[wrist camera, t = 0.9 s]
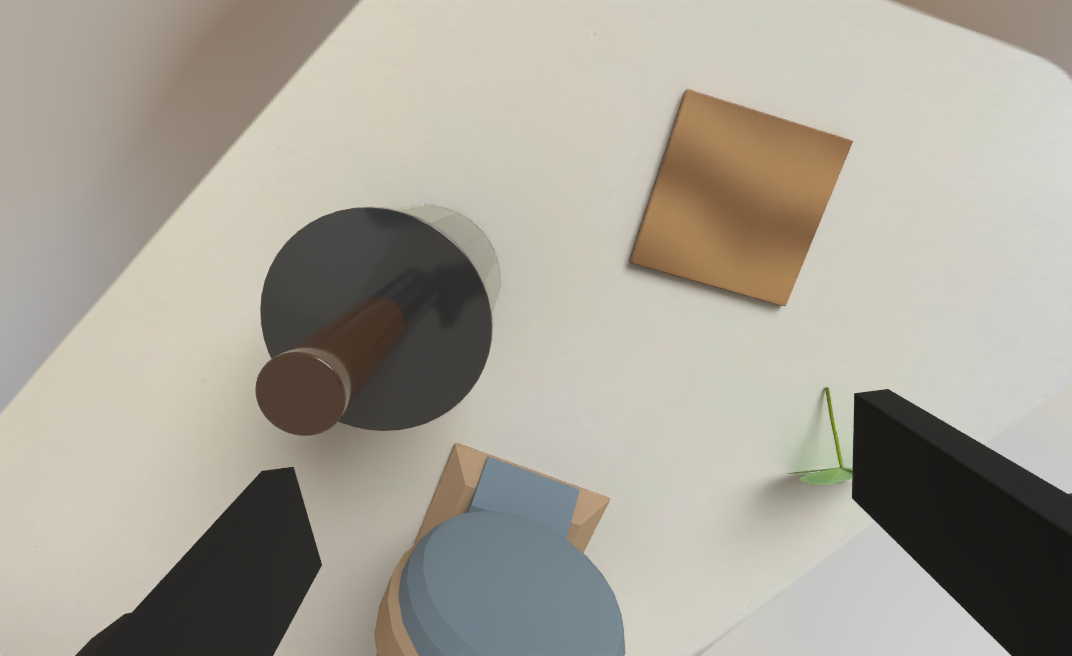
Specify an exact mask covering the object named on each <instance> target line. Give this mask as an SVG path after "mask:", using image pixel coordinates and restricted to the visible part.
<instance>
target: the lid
mask: <svg viewBox="0 0 1072 656" xmlns="http://www.w3.org/2000/svg"><path fill="white" fill-rule="evenodd" d="M260 311H261V326H262V331H263V336H264V340H265V343H266V346H267V349H268V352H269V355H270V357H271V360H270V361H269V362H267V363H266V364H265V366H264V367H263V368H262V370H261V371H260V373H259V375H258V378H257V382H256V398H257V402H258V405H259V407H260V409H261V411H262V412H263V414H264V415H265V417H266V418H267V419H268V420H269V421H270V422H271V423H272V424H273V425H275V426H276V427H278V428H279V429H281V430H283V431H285V432H288V433H291V434H295V435H303V436H307V435H315V434H319V433H322V432H324V431H327V430H328V429H330V428H331V427H333V426H334V425H335V424H336V423H337V422H341V423H343V424H347V425H350V426H353V427H357V428H362V429H368V430H380V431H389V430H401V429H407V428H412V427H416V426H419V425H422V424H425V423H428V422H430V421H432V420H434V419H436V418H439V417H440V416H442V415H443V414H445V413H447V412H448V411H450V410H451V409H452V408H453V407H455V406H456V405H457V404H458V403H460V402H461V401H462V400H463V399H464V397H465V396H466V395H467V394H468V393H469V392H470V391H471V389H472V388H473V386H474V385H475V384H476V382H477V381H478V379H479V377H480V375H481V373H482V371H483V369H484V367H485V364H486V361H487V358H488V356H489V352H490V347H491V342H492V335H493V315H492V307H491V302H490V297H489V293H488V291H487V288H486V285H485V282H484V280H483V278H482V276H481V274H480V272H479V270H478V268H477V266H476V265H475V263H474V262H473V261H472V259H471V258H470V256H469V255H468V254H467V252H466V251H465V250H464V249H463V248H462V247H461V246H460V245H459V243H458V242H456V241H455V240H454V239H453V238H452V237H451V236H450V235H448V234H447V233H446V232H445V231H443V230H442V229H440V228H439V227H437V226H436V225H434V224H433V223H431V222H429V221H427V220H425V219H423V218H421V217H419V216H416V215H413V214H410V213H407V212H404V211H400V210H396V209H391V208H382V207H358V208H351V209H346V210H341V211H337V212H334V213H331V214H328V215H325V216H323V217H321V218H319V219H317V220H315V221H313V222H311V223H309V224H308V225H306V226H305V227H303V228H302V229H301V230H299V231H298V232H297V233H296V234H295V235H294V236H292V237H291V238H290V239H289V240H288V241H287V242H286V244H285V245H284V246H283V247H282V249H281V250H280V251H279V253H278V254H277V256H276V257H275V259H274V261H273V263H272V264H271V266H270V269H269V271H268V274H267V276H266V279H265V282H264V287H263V291H262V297H261V309H260Z"/></svg>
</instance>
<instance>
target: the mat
mask: <svg viewBox="0 0 1072 656" xmlns="http://www.w3.org/2000/svg"><path fill="white" fill-rule="evenodd" d="M852 142H853V141H852V140H849V139H846V138H843V137H839V136H836V135H833V134H830V133H827V132H823V131H820V130H817V129H814V128H811V127H808V126H804V125H801V124H798V123H795V122H792V121H788V120H785V119H782V118H779V117H776V116H772V115H769V114H766V113H763V112H760V111H756V110H753V109H750V108H747V107H744V106H741V105H737V104H734V103H731V102H728V101H725V100H721V99H718V98H715V97H712V96H709V95H705V94H702V93H699V92H696V91H693V90H689V89H687V90H686V91H685V94H684V97H683V100H682V103H681V106H680V109H679V112H678V115H677V118H676V121H675V124H674V127H673V131H672V134H671V137H670V140H669V143H668V146H667V149H666V152H665V155H664V158H663V161H662V164H661V167H660V170H659V173H658V176H657V180H656V183H655V186H654V189H653V192H652V195H651V198H650V201H649V204H648V207H647V210H646V213H645V216H644V219H643V222H642V225H641V229H640V232H639V235H638V238H637V241H636V244H635V247H634V250H633V253H632V256H631V259H630V262H631V263H634V264H637V265H641V266H644V267H648V268H652V269H655V270H659V271H662V272H666V273H669V274H673V275H676V276H680V277H683V278H687V279H690V280H694V281H697V282H701V283H704V284H708V285H711V286H715V287H718V288H722V289H726V290H729V291H733V292H736V293H740V294H743V295H747V296H750V297H754V298H757V299H761V300H764V301H768V302H771V303H775V304H778V305H782V306H786V304H787V301H788V299H789V296H790V294H791V291H792V289H793V287H794V284H795V282H796V279H797V277H798V274H799V272H800V269H801V267H802V265H803V262H804V260H805V257H806V255H807V252H808V250H809V247H810V245H811V243H812V240H813V238H814V235H815V233H816V230H817V228H818V225H819V223H820V221H821V218H822V216H823V213H824V211H825V208H826V206H827V203H828V201H829V199H830V196H831V194H832V191H833V189H834V186H835V184H836V182H837V179H838V177H839V174H840V172H841V169H842V167H843V164H844V162H845V160H846V157H847V155H848V152H849V150H850V147H851V145H852Z"/></svg>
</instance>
